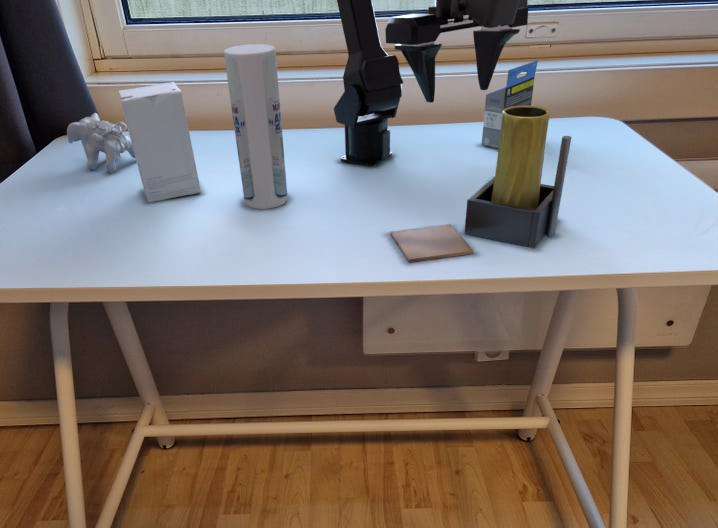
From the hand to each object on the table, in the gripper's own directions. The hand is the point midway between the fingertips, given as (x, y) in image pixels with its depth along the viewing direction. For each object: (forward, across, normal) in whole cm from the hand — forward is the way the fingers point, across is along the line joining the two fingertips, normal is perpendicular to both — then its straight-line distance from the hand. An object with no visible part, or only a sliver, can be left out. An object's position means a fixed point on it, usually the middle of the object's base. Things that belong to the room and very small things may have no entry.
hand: (457, 95), depth 83 cm
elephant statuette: (+9, -38, +47) cm, 61 cm away
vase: (+14, -2, -12) cm, 19 cm away
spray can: (+12, -23, +15) cm, 30 cm away
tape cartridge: (+12, +22, +14) cm, 29 cm away
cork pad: (+14, -13, -10) cm, 22 cm away
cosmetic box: (+11, -33, +27) cm, 44 cm away
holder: (+14, -2, -12) cm, 19 cm away
